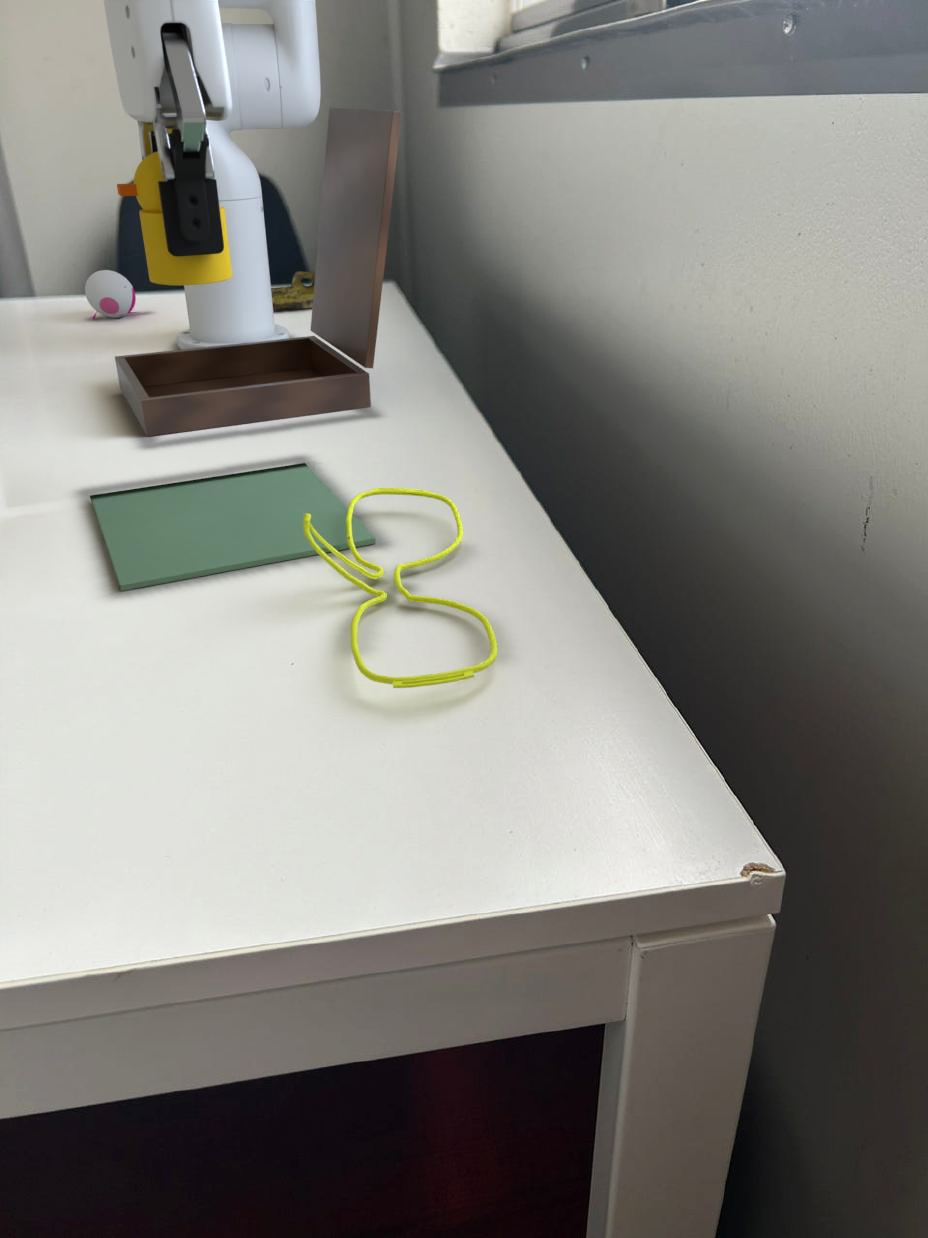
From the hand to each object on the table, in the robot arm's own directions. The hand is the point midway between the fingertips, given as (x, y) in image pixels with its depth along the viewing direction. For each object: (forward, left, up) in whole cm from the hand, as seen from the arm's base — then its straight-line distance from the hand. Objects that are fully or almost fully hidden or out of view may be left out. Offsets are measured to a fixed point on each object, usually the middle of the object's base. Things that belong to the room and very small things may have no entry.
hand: (187, 244), depth 60 cm
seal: (-71, +22, -18) cm, 76 cm away
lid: (-26, +19, -3) cm, 32 cm away
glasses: (+16, +7, -18) cm, 25 cm away
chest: (-26, +7, -18) cm, 32 cm away
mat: (0, 0, -18) cm, 18 cm away
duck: (0, 0, -2) cm, 2 cm away
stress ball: (-73, +2, -18) cm, 75 cm away
